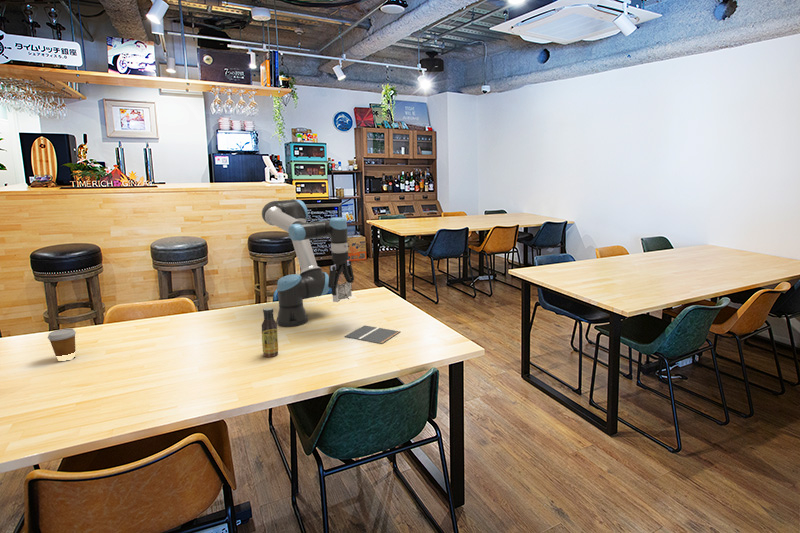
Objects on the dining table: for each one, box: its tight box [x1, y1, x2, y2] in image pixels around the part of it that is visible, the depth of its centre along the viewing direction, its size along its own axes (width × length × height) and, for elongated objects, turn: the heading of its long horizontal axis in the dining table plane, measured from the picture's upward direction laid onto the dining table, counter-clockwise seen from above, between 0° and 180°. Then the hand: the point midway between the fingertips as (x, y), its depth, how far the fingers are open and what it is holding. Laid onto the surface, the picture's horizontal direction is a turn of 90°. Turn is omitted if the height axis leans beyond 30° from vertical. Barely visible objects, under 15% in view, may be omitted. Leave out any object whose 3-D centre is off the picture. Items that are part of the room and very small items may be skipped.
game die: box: [337, 281, 354, 302], centre depth 212 cm, size 9×8×10 cm
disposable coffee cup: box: [47, 328, 77, 357], centre depth 190 cm, size 10×10×12 cm
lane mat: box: [344, 325, 402, 345], centre depth 208 cm, size 20×16×1 cm
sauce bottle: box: [261, 307, 279, 358], centre depth 186 cm, size 7×6×20 cm
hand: (342, 298), depth 213 cm, fingers closed on game die, 9 cm apart
